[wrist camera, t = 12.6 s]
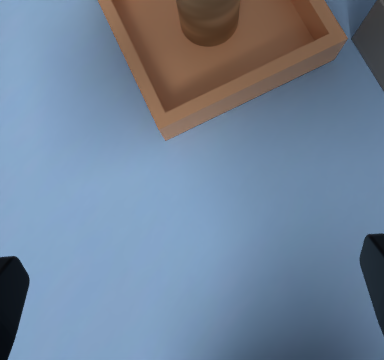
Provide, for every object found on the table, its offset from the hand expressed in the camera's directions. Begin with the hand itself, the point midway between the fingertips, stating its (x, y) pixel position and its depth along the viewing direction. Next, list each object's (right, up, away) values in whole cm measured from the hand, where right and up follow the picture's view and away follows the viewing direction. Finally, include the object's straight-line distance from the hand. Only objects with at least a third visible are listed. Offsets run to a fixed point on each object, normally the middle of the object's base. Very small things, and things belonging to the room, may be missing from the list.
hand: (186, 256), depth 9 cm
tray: (+1, +13, +15) cm, 20 cm away
